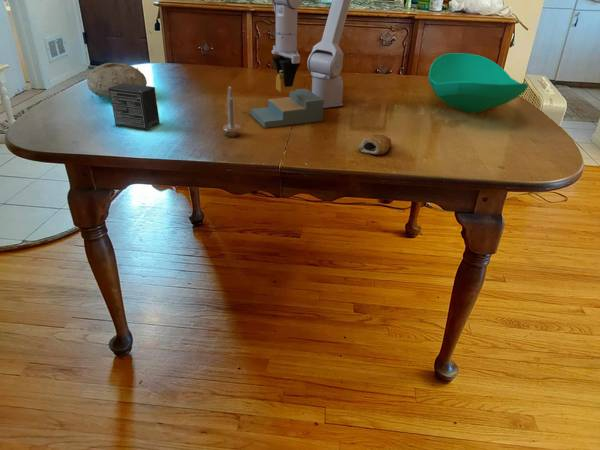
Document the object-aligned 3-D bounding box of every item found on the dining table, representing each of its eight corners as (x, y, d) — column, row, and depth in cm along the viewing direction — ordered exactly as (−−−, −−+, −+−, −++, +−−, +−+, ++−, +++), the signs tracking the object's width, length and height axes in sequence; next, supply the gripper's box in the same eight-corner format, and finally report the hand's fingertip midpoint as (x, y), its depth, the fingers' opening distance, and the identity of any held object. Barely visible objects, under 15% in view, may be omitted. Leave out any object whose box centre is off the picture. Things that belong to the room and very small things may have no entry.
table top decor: (413, 90, 163) (419, 51, 156) (490, 92, 164) (500, 54, 156) (441, 129, 130) (450, 82, 123) (537, 132, 130) (552, 85, 123)
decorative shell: (158, 91, 153) (153, 60, 148) (132, 108, 138) (126, 74, 133) (108, 87, 155) (102, 57, 150) (78, 103, 140) (70, 69, 135)
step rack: (305, 108, 142) (306, 88, 139) (322, 120, 133) (323, 99, 130) (250, 114, 136) (250, 94, 133) (264, 128, 127) (264, 106, 123)
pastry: (373, 140, 121) (375, 126, 119) (396, 146, 118) (399, 132, 116) (356, 151, 115) (358, 137, 113) (380, 158, 111) (382, 143, 109)
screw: (222, 132, 123) (240, 131, 124) (223, 138, 119) (241, 138, 120) (219, 83, 116) (238, 83, 117) (220, 88, 112) (239, 88, 113)
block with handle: (290, 87, 132) (290, 67, 129) (295, 90, 130) (296, 70, 127) (275, 88, 131) (275, 69, 128) (280, 92, 128) (280, 72, 125)
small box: (161, 123, 127) (156, 86, 122) (147, 131, 122) (141, 92, 116) (129, 118, 130) (123, 81, 124) (114, 126, 125) (107, 87, 119)
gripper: (262, 29, 126) (263, 79, 133) (282, 38, 115) (282, 92, 122) (286, 28, 129) (285, 77, 136) (308, 37, 118) (306, 90, 125)
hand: (285, 84), depth 129 cm, fingers closed on block with handle, 3 cm apart
